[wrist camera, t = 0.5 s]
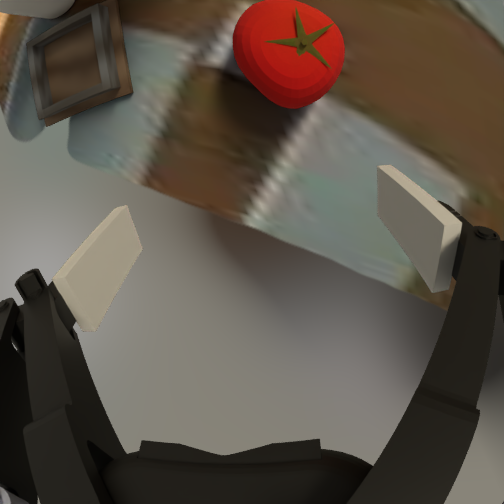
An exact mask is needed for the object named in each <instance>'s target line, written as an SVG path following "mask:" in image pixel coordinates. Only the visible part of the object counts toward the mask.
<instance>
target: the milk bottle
mask: <svg viewBox="0 0 504 504" xmlns="http://www.w3.org/2000/svg"><path fill="white" fill-rule="evenodd" d="M74 2H75V0H0V12H2V13H7V14H15V15H23V16H31V17H38V18H45V19H54V18H57V17H59V16H61V15H63V14H64V13H65V12H67V11H68V10H69V9H70V7H71V6H72V5H73V3H74Z"/></svg>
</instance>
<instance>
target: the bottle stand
mask: <svg viewBox="0 0 504 504" xmlns="http://www.w3.org/2000/svg"><path fill="white" fill-rule="evenodd" d="M26 45H27V54H28V62H29V70H30V76H31V83H32V89H33V94H34V99H35V105H36V109H37V114H38V119H39V120H41V119H44V120H45V124H46V127H47V126H50V125H52V124H55V123H57V122H59V121H61V120H63V119H66V118H68V117H70V116H73V115H75V114H77V113H80V112H82V111H84V110H87V109H89V108H92V107H94V106H97V105H100V104H102V103H105V102H108V101H110V100H113V99H116V98H119V97H122V96H125V95H128V94H131V93H133V88H132V83H131V78H130V73H129V68H128V62H127V56H126V51H125V45H124V39H123V32H122V26H121V19H120V12H119V4H118V0H106V1H104V2H102V3H97V4H95V5H93V6H91V7H89V8H87V9H85V10H83V11H81V12H79V13H77V14H75V15H73V16H71V17H69V18H67V19H66V20H64V21H62V22H60V23H59V24H57V25H55V26H53V27H52V28H50V29H48V30H47V31H45V32H43V33H42V34H40V35H39V36H37V37H36V38H34V39H32V40H31V41H29V42H28V43H26Z"/></svg>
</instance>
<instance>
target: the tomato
mask: <svg viewBox="0 0 504 504" xmlns="http://www.w3.org/2000/svg"><path fill="white" fill-rule="evenodd" d="M233 51H234V56H235V59H236V62H237V64H238V66H239V68H240V70H241V71H242V72H243V74H244V75H245V76H246V78H247V79H248V80H249V81H250V82H251V83H252V84H253V85H254V86H255V87H256V88H257V89H258V90H259V91H260V92H261V93H262V94H263V95H264V96H265V97H267V98H268V99H269V100H270V101H272V102H274V103H275V104H277V105H279V106H282V107H285V108H293V109H296V108H300V107H304V106H307V105H309V104H312V103H313V102H315V101H317V100H319V99H320V98H321V97H322V96H323V95H324V94H326V93H327V92H328V91H329V89H330V88H331V87H332V86H333V84H334V83H335V82H336V80H337V78H338V76H339V74H340V72H341V69H342V66H343V62H344V53H345V47H344V41H343V37H342V35H341V33H340V31H339V28H338V27H337V26H336V24H335V23H334V22H333V21H332V20H331V19H330V18H329V17H328V16H326V15H325V14H323V13H322V12H320V11H319V10H317V9H315V8H313V7H311V6H309V5H306V4H304V3H301V2H298V1H294V0H265V1H261V2H258V3H256V4H253V5H252V6H251V7H249V8H248V9H247V10H246V11H245V12H244V13H243V14H242V16H241V17H240V18H239V20H238V22H237V24H236V26H235V30H234V33H233Z"/></svg>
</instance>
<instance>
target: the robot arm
mask: <svg viewBox="0 0 504 504" xmlns="http://www.w3.org/2000/svg"><path fill="white" fill-rule="evenodd" d="M377 179H378V217H379V218H380V219H381V220H382V222H383V223H384V224H385V226H386V227H387V228H388V230H389V231H390V232H391V234H392V235H393V236H394V238H395V239H396V240H397V242H398V243H399V245H400V246H401V247H402V249H403V250H404V252H405V253H406V254H407V256H408V257H409V259H410V260H411V262H412V263H413V265H414V266H415V267H416V269H417V270H418V272H419V273H420V275H421V276H422V278H423V279H424V281H425V282H426V284H427V286H428V287H429V289H430V290H431V292H432V293H434V292H439V291H443V290H448V289H449V286H450V282H451V278H452V276H453V277H454V279H455V280H456V281H457V282H456V285H455V289H454V292H453V296H452V299H451V302H450V306H449V309H448V312H447V315H446V318H445V321H444V324H443V327H442V330H441V332H440V335H439V338H438V341H437V343H436V346H435V348H434V351H433V353H432V356H431V359H430V361H429V363H428V366H427V368H426V370H425V373H424V375H423V377H422V379H421V382H420V384H419V386H418V388H417V389H416V391H415V394H414V395H413V397H412V400H411V402H410V404H409V406H408V407H407V410H406V411H405V413H404V415H403V417H402V419H401V421H400V423H399V424H398V426H397V428H396V430H395V432H394V433H393V435H392V437H391V438H390V440H389V442H388V444H387V445H386V447H385V449H384V450H383V452H382V453H381V455H380V457H379V458H378V460H377V461H376V463H375V464H374V466H372V465H371V464H369V463H367V462H365V461H364V460H362V459H360V458H357V457H355V456H353V455H349V454H346V453H343V452H339V451H333V450H326V449H321V446H320V439H313V440H305V441H296V442H285V443H272V444H269V445H265V446H262V447H258V448H255V449H251V450H247V451H243V452H239V453H235V454H230V455H217V454H213V453H210V452H206V451H203V450H199V449H196V448H192V447H189V446H186V445H182V444H175V443H164V442H153V441H144V440H143V441H141V446H140V450H139V451H137V452H133V453H129V454H127V453H126V452H125V451H124V449H123V447H122V445H121V443H120V441H119V439H118V437H117V435H116V433H115V431H114V429H113V427H112V425H111V422H110V420H109V418H108V416H107V414H106V411H105V409H104V407H103V404H102V402H101V400H100V397H99V395H98V393H97V390H96V387H95V385H94V382H93V380H92V377H91V374H90V372H89V369H88V366H87V363H86V360H85V358H84V355H83V352H82V348H81V345H80V342H79V339H78V336H77V333H76V332H75V330H74V329H73V326H74V324H75V322H77V323H78V324H79V326H80V328H81V329H82V331H83V332H90V331H91V332H92V331H97V329H98V327H99V325H100V323H101V321H102V319H103V317H104V315H105V314H106V312H107V310H108V308H109V306H110V305H111V303H112V301H113V299H114V297H115V295H116V294H117V292H118V290H119V288H120V287H121V285H122V283H123V281H124V280H125V278H126V276H127V274H128V273H129V271H130V269H131V267H132V266H133V264H134V263H135V261H136V259H137V258H138V256H139V254H140V253H141V251H142V249H143V248H142V245H141V243H140V240H139V237H138V235H137V232H136V229H135V226H134V224H133V221H132V218H131V215H130V213H129V209H128V207H127V205H126V206H121V207H117V208H115V209H114V210H113V211H112V212H111V213H110V214H109V215H108V216H107V217H106V218H105V219H104V220H103V221H102V222H101V223H100V224H99V225H98V227H97V228H96V229H95V230H94V231H93V232H92V233H91V234H90V236H88V237H87V238H86V240H85V241H84V242H83V243H82V244H81V245H80V246H79V247H78V249H77V250H76V251H75V252H74V253H73V254H72V255H71V257H70V258H69V259H68V260H67V261H66V262H65V264H64V265H63V266H62V267H61V269H60V270H59V271H58V272H57V273H56V275H55V276H54V277H53V278H52V280H53V281H52V282H51V283H50V284H49V286H47V284H46V282H45V280H44V278H43V276H42V275H41V273H40V271H39V269H32V270H30V271H28V272H26V273H25V274H23V275H22V276H21V277H20V278H19V279H18V280H17V281H16V283H15V286H16V288H17V290H18V292H19V293H20V295H21V297H22V298H23V300H24V304H23V305H20V306H17V304H16V302H15V301H14V299H13V298H8V299H6V300H2V301H1V302H0V504H37V500H38V497H39V500H40V503H41V504H444V502H445V500H446V498H447V496H448V494H449V492H450V490H451V488H452V486H453V484H454V482H455V480H456V478H457V475H458V473H459V471H460V469H461V466H462V464H463V461H464V459H465V457H466V454H467V451H468V449H469V447H470V444H471V441H472V439H473V436H474V433H475V430H476V427H477V424H478V420H479V416H480V410H478V409H476V405H477V401H478V398H479V394H480V390H481V387H482V383H483V379H484V375H485V371H486V367H487V362H488V358H489V353H490V347H491V342H492V337H493V330H494V323H495V317H496V309H497V300H498V295H499V300H500V305H501V310H502V315H503V321H504V241H500V237H499V235H498V234H497V233H496V232H495V231H493V230H492V229H489V228H486V227H482V226H474V227H473V226H472V225H471V224H470V223H469V222H468V221H467V220H465V219H464V218H463V217H462V216H460V214H459V213H457V212H455V210H454V209H453V208H452V207H450V206H449V205H447V204H445V203H443V202H441V201H436V200H435V199H434V198H433V197H432V196H430V195H429V194H428V193H427V192H426V191H424V190H423V189H422V188H421V187H419V186H418V185H417V184H415V183H414V182H413V181H412V180H410V179H409V178H408V177H406V176H405V175H404V174H402V173H401V172H400V171H398V170H397V169H396V168H394V167H393V166H391V165H383V166H377ZM12 343H13V344H14V345H15V347H16V348H17V351H16V349H15V348H14V346H13V344H12ZM502 504H504V502H503V503H502Z"/></svg>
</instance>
